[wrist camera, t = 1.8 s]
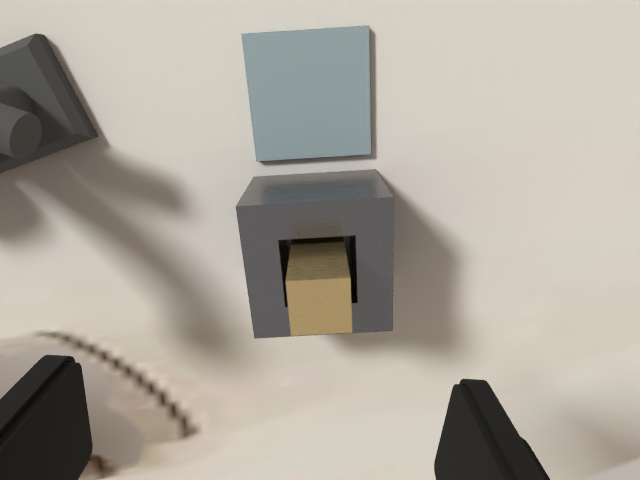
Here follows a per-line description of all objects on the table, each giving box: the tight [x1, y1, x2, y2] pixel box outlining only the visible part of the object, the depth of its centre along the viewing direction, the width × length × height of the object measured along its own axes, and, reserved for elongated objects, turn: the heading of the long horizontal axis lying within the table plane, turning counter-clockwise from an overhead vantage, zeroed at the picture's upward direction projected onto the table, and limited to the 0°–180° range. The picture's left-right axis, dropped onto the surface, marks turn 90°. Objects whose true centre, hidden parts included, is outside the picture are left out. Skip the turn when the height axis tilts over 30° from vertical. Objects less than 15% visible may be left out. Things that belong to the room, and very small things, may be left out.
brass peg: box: [286, 236, 352, 336], centre depth 32 cm, size 4×4×12 cm
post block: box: [236, 169, 393, 338], centre depth 35 cm, size 11×11×9 cm
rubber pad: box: [242, 26, 371, 161], centre depth 34 cm, size 10×10×1 cm
